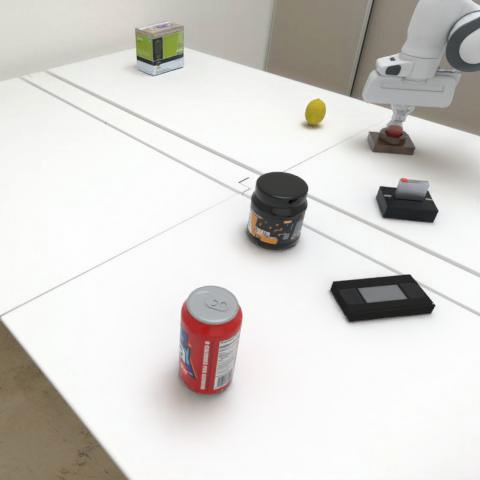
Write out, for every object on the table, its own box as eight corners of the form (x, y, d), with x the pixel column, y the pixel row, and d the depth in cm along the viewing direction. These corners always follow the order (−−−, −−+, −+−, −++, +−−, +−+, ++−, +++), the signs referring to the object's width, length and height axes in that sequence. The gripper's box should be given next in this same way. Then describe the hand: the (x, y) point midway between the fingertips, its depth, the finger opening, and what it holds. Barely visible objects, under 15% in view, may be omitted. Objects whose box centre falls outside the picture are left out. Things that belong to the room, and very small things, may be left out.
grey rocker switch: (421, 197, 97) (428, 179, 94) (423, 201, 96) (430, 183, 93) (393, 194, 98) (400, 177, 95) (395, 198, 96) (402, 181, 94)
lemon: (301, 128, 130) (307, 100, 125) (303, 120, 134) (309, 93, 129) (321, 130, 129) (328, 103, 124) (323, 122, 133) (329, 96, 128)
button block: (405, 141, 123) (410, 127, 121) (412, 155, 117) (418, 141, 115) (366, 138, 125) (371, 124, 122) (372, 152, 119) (376, 138, 116)
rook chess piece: (389, 126, 131) (398, 99, 126) (404, 131, 128) (414, 104, 123) (381, 130, 129) (390, 103, 124) (396, 136, 126) (406, 108, 121)
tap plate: (423, 201, 101) (428, 189, 99) (433, 222, 95) (439, 210, 93) (375, 197, 102) (380, 185, 100) (382, 218, 96) (387, 205, 94)
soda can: (224, 406, 62) (235, 335, 53) (170, 387, 65) (172, 316, 55) (238, 361, 68) (250, 290, 59) (188, 346, 70) (192, 275, 61)
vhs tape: (329, 289, 80) (332, 281, 78) (406, 282, 81) (410, 274, 80) (348, 322, 74) (352, 313, 73) (431, 313, 75) (435, 305, 74)
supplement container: (235, 233, 92) (241, 182, 85) (268, 213, 97) (277, 164, 90) (276, 259, 86) (287, 207, 78) (310, 237, 91) (323, 185, 84)
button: (399, 131, 120) (401, 125, 119) (402, 137, 117) (404, 131, 116) (384, 130, 120) (386, 124, 119) (387, 136, 118) (389, 130, 117)
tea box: (166, 61, 177) (166, 19, 168) (184, 67, 171) (185, 25, 162) (136, 69, 169) (134, 26, 160) (153, 76, 163) (152, 32, 154)
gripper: (459, 63, 109) (437, 118, 117) (370, 58, 112) (354, 112, 120) (468, 72, 104) (444, 129, 113) (374, 67, 107) (358, 122, 115)
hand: (397, 120), depth 116 cm, fingers closed
